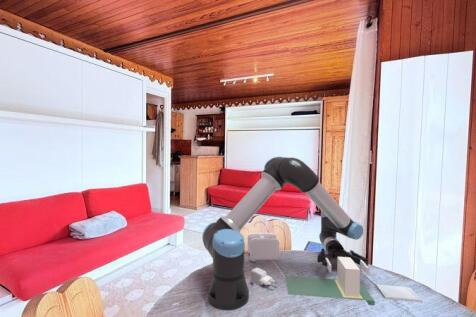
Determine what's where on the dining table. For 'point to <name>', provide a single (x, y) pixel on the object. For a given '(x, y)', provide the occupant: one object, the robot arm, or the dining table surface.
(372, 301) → the board
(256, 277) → the power adapter
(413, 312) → the dining table surface
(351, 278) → the block
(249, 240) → the cable organizer
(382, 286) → the hard drive
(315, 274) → the dining table surface
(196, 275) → the dining table surface
